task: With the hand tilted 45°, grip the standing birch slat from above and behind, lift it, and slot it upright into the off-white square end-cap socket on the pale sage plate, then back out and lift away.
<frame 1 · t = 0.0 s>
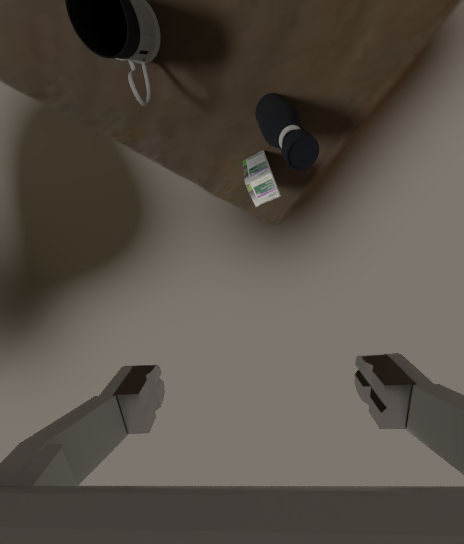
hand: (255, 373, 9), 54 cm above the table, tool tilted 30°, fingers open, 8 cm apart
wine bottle: (270, 111, 47), on the table
grey mug: (143, 51, 41), on the table
syrup box: (257, 166, 55), on the table
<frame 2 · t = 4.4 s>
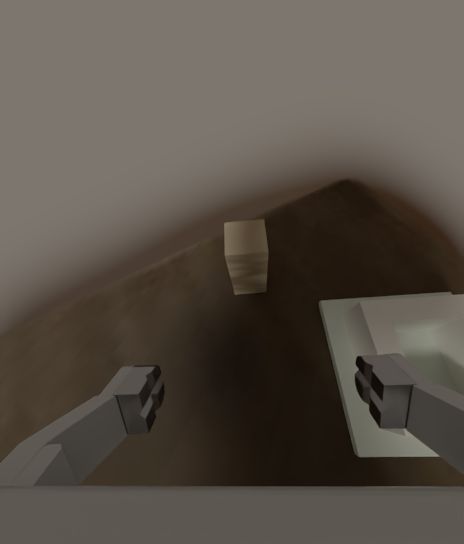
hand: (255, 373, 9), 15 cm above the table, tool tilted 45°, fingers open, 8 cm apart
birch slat: (249, 279, 28), on the table
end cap: (405, 364, 22), on the table
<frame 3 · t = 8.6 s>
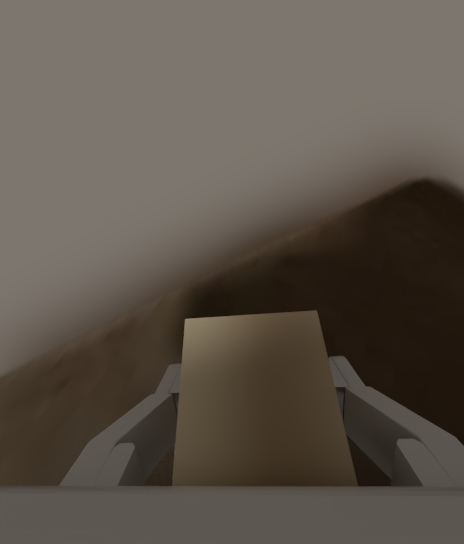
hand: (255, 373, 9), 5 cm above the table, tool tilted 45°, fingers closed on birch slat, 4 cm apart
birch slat: (257, 391, 13), on the table, touching gripper
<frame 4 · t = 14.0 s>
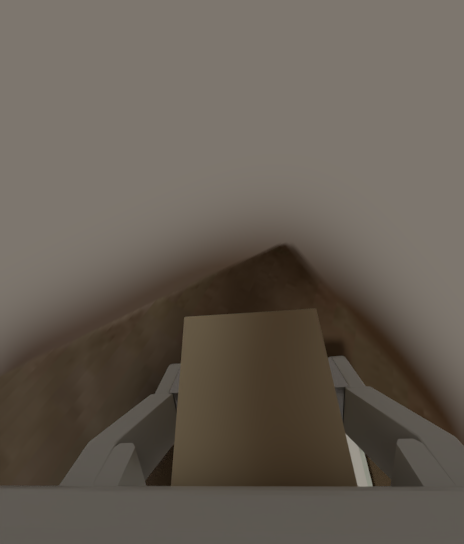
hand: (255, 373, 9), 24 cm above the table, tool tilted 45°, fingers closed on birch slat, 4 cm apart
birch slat: (257, 390, 13), point 19 cm above the table, touching gripper
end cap: (296, 421, 28), on the table
when the fingers open (8 cm above the table, at t = 19.4 s): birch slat drops 1 cm, resting on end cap.
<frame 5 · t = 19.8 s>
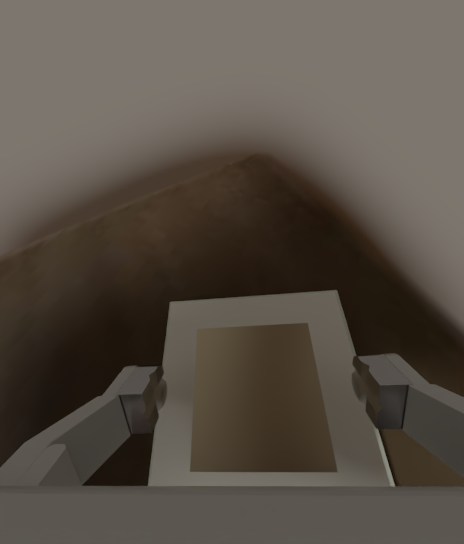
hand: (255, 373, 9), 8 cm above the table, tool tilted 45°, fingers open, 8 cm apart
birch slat: (258, 390, 15), point 1 cm above the table, touching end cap
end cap: (258, 391, 15), on the table
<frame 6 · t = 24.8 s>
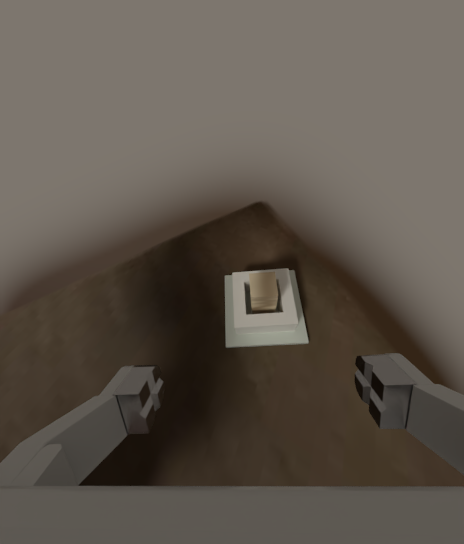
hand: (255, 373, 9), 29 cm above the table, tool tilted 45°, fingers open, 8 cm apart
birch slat: (262, 305, 40), point 1 cm above the table, touching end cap
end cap: (262, 307, 41), on the table
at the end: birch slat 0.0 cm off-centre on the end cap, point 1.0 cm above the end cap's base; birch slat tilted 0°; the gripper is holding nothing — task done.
